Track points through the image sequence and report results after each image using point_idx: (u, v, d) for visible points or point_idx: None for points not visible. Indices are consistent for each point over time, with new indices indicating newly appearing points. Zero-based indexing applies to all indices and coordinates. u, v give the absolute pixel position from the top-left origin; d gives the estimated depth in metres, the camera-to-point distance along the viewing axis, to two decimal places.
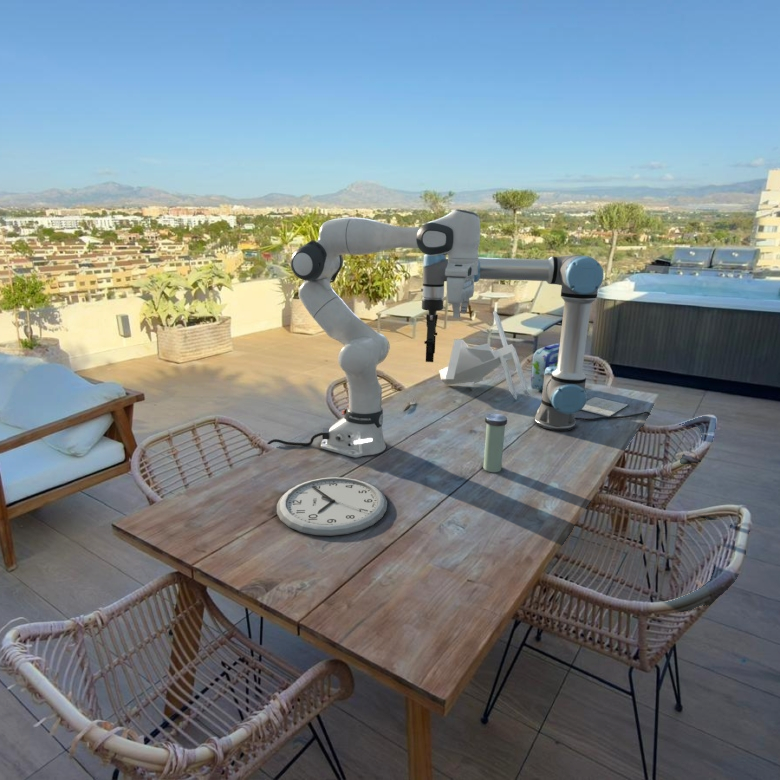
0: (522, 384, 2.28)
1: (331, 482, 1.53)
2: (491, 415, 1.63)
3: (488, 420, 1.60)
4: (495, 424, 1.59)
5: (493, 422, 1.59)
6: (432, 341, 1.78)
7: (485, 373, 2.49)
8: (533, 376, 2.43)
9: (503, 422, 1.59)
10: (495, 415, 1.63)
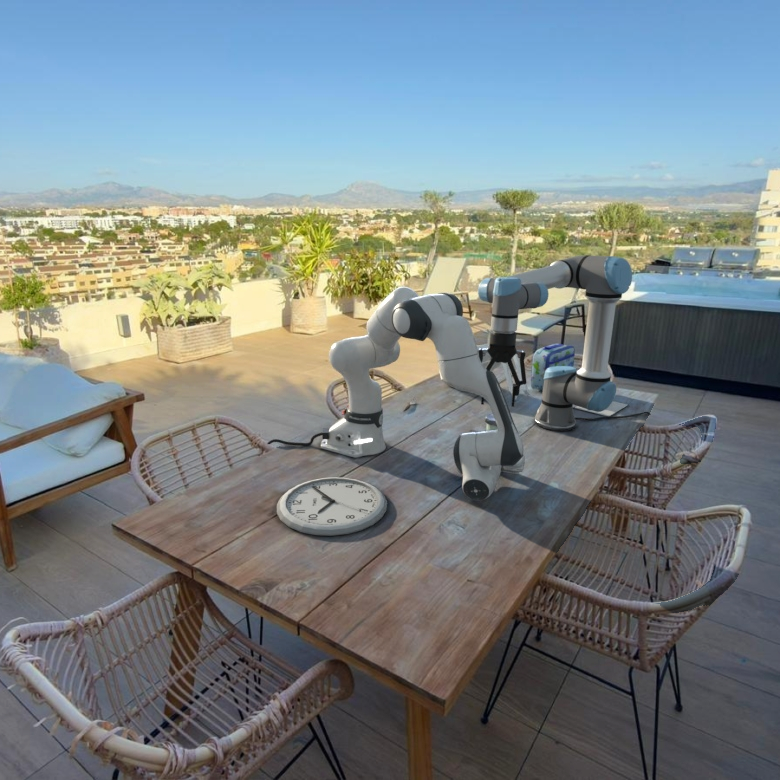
0: None
1: (331, 482, 1.53)
2: (491, 415, 1.63)
3: (488, 420, 1.60)
4: (495, 424, 1.59)
5: (493, 422, 1.59)
6: None
7: None
8: (533, 376, 2.43)
9: None
10: None
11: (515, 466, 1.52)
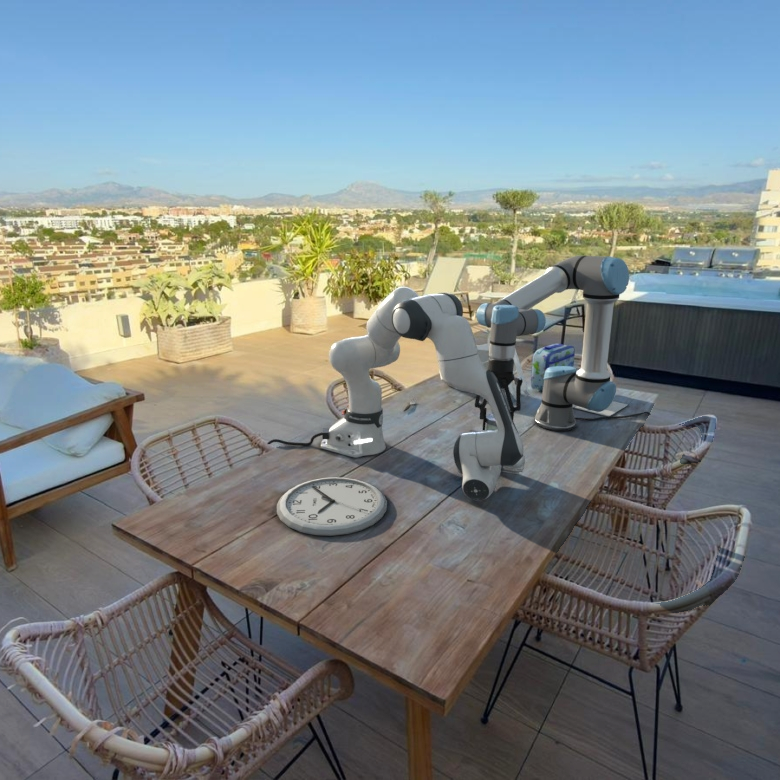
0: (522, 384, 2.28)
1: (331, 482, 1.53)
2: (491, 415, 1.63)
3: (488, 420, 1.60)
4: (495, 424, 1.59)
5: (493, 422, 1.59)
6: None
7: None
8: (533, 376, 2.43)
9: None
10: None
11: (515, 466, 1.52)
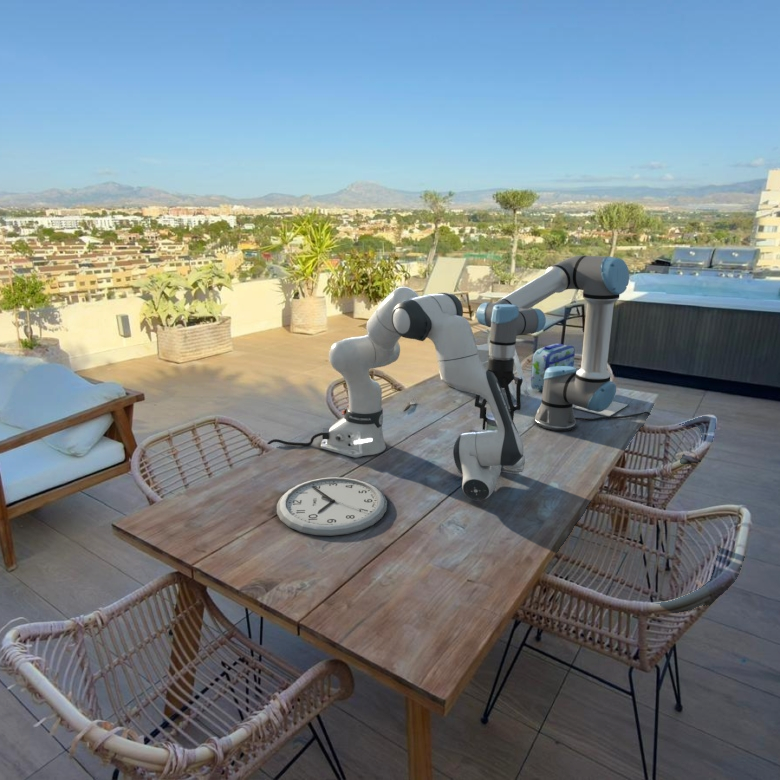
0: (522, 384, 2.28)
1: (331, 482, 1.53)
2: None
3: None
4: None
5: None
6: None
7: None
8: (533, 376, 2.43)
9: None
10: (493, 418, 1.60)
11: (515, 466, 1.52)
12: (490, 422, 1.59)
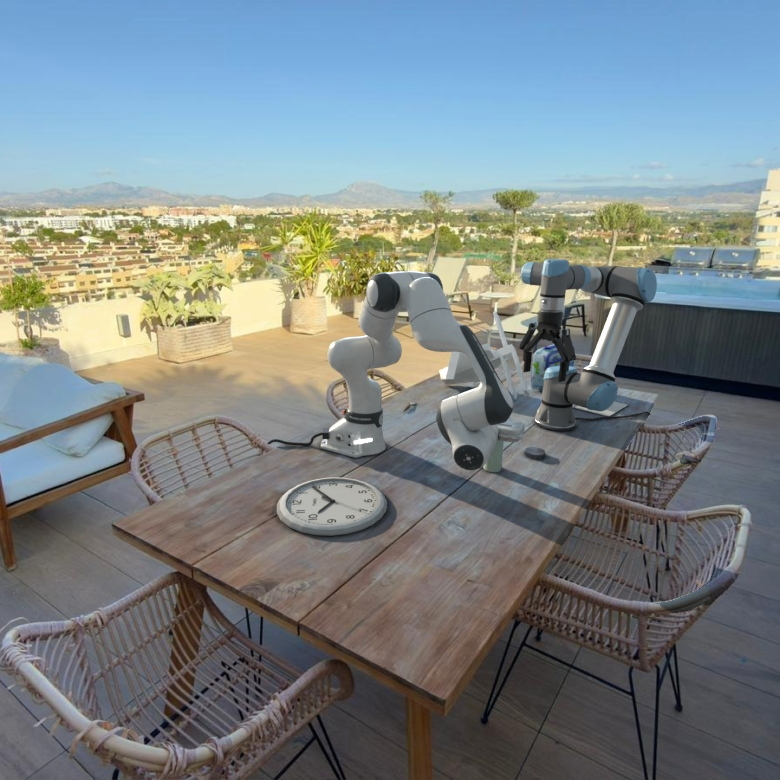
0: (522, 384, 2.28)
1: (331, 482, 1.53)
2: (528, 450, 1.76)
3: (537, 455, 1.73)
4: (543, 456, 1.74)
5: (542, 455, 1.74)
6: (575, 358, 1.59)
7: None
8: (533, 376, 2.43)
9: (544, 452, 1.76)
10: (529, 449, 1.77)
11: (513, 434, 1.35)
12: None
